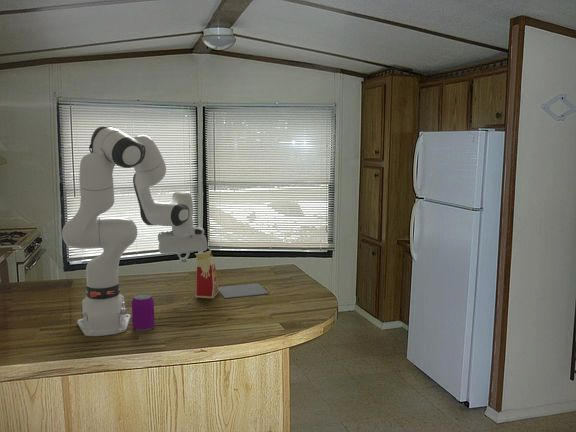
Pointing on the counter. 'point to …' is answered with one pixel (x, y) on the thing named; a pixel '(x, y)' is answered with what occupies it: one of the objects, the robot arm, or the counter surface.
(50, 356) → the counter surface
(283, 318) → the counter surface
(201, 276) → the milk carton
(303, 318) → the counter surface
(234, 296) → the mat
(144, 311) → the beverage can
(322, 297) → the counter surface
